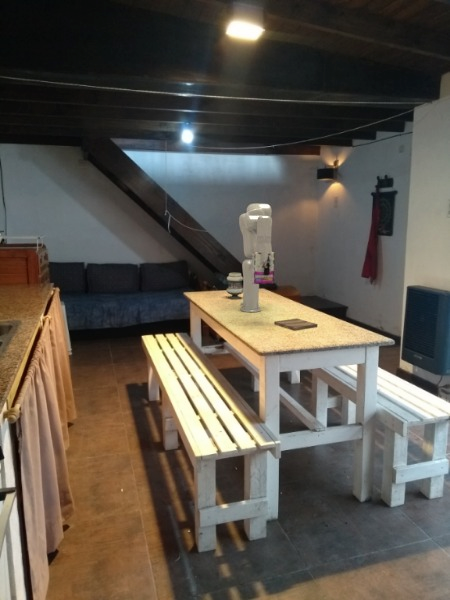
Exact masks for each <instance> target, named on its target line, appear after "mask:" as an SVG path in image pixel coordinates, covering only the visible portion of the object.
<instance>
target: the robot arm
mask: <svg viewBox="0 0 450 600" xmlns="http://www.w3.org/2000/svg"><path fill="white" fill-rule="evenodd" d="M272 212H273V210H272V206H271V205H270V204H268V203H250V204H249V205H248V206H247V208H246V212H245V213H241V215H239V218H238V224H239V230H240V232H241V234H242V237H243V242H242V243H243V253H244V257H246V259H244V260H243V262H242V265H241V266H242V275H243V276H242V277H243V281H242V288H243V293H242V302H241V303H240V305H241V306H242V307H240V311H241V312H244V313H258V312H261V310H262V309H261V308H260V307H259V303H260V302H259V301H260V300H259V299H260V298H259V296H260V295H259V294H260V284H253V283H252V252H258V253H261V262H264V265H265V268H264V275H269V271H270V267H271V265H272V263H273V260H272V252H273V251H272V250H273V248H272V227H273V219H272ZM255 231H256V232H255ZM247 258H248V259H247ZM266 261H268V262H266ZM267 263H268V264H267Z"/></svg>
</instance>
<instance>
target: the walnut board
mask: <svg viewBox="0 0 450 600" xmlns="http://www.w3.org/2000/svg"><path fill="white" fill-rule="evenodd" d="M273 325H275V326H278V327H281V328H285V329H288V330H291V331H301V330H307V329H313V328H318V323H315V322H311V321H307V320H304V319H300V318H297V317H295V318H290V319H283V320H275V321H274V323H273Z"/></svg>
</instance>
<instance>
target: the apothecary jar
mask: <svg viewBox="0 0 450 600" xmlns="http://www.w3.org/2000/svg"><path fill="white" fill-rule="evenodd" d="M226 281H227V282H228V284H227V285H228V287H227V288H226V292H227V294H228V295H230V296H228V297H227V299H229V300H235V301H236V300H243V297H241V296H240V295H241V294H242V295H243V276H242V273H241V272H230V273H228V276H226Z"/></svg>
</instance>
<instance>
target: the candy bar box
mask: <svg viewBox="0 0 450 600" xmlns="http://www.w3.org/2000/svg"><path fill="white" fill-rule="evenodd" d="M251 259H252V283H253V284H259V285H266V284H268V285H269V284H274V283H275V281H274V280H275V278H274V277H275V252H273V251H272V260H273V263H272V265H271V267H270V271H269V275H264V268H265V265H264V262H261V253H258V252H252V258H251ZM266 262H268V261H266ZM267 264H268V263H267Z"/></svg>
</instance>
